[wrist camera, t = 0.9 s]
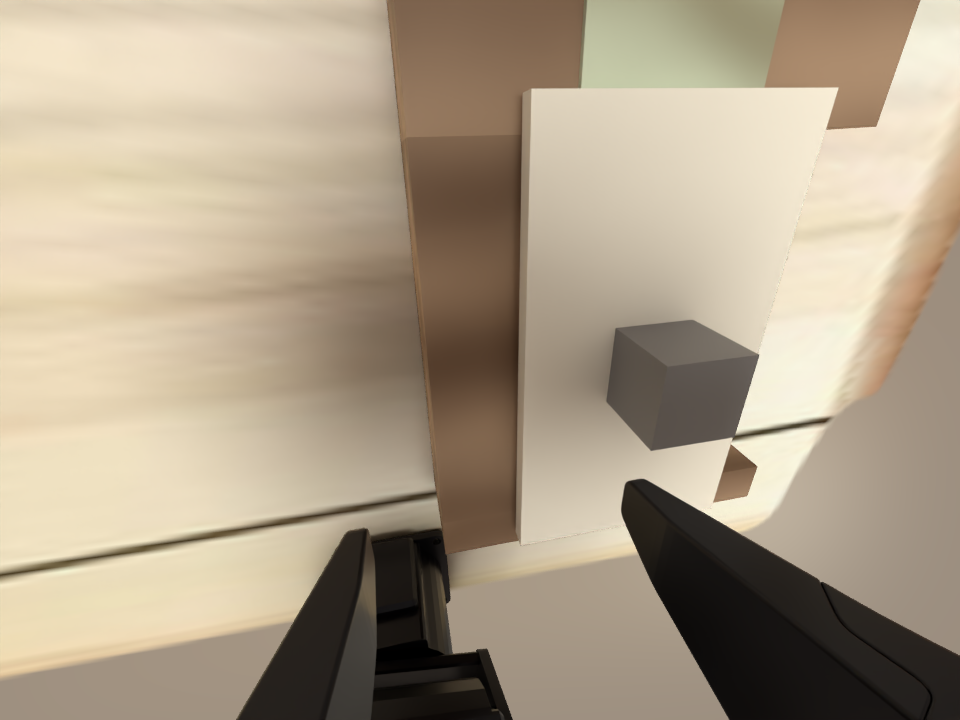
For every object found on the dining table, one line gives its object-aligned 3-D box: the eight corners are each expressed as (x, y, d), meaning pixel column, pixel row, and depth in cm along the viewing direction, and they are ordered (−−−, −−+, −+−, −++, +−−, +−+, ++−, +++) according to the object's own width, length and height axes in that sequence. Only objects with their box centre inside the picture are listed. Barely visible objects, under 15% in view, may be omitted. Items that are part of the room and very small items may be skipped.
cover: (700, 496, 21) (761, 562, 17) (515, 531, 19) (543, 611, 16) (813, 91, 13) (963, 68, 10) (522, 92, 11) (579, 65, 8)
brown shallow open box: (686, 439, 26) (749, 498, 22) (434, 480, 24) (446, 558, 19) (811, -79, 15) (990, -179, 11) (375, -113, 13) (370, -262, 8)
